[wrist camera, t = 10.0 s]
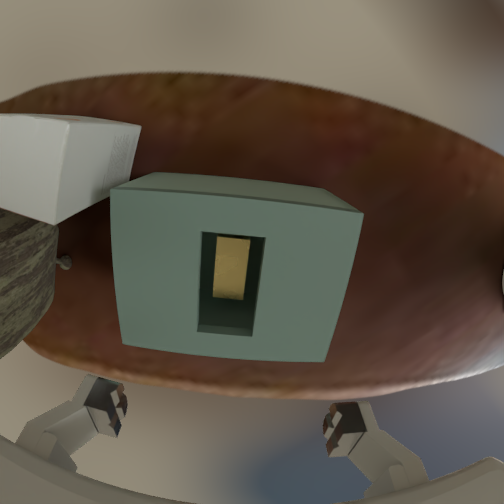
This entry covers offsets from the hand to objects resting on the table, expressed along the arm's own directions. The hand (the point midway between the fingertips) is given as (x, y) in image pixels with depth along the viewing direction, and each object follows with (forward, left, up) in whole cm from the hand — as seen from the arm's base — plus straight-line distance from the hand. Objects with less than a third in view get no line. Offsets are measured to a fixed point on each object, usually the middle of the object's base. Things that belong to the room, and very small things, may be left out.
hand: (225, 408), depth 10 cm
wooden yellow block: (0, 0, -19) cm, 19 cm away
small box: (+14, -8, -20) cm, 26 cm away
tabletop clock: (+23, 0, -20) cm, 31 cm away
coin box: (0, 0, -20) cm, 20 cm away
